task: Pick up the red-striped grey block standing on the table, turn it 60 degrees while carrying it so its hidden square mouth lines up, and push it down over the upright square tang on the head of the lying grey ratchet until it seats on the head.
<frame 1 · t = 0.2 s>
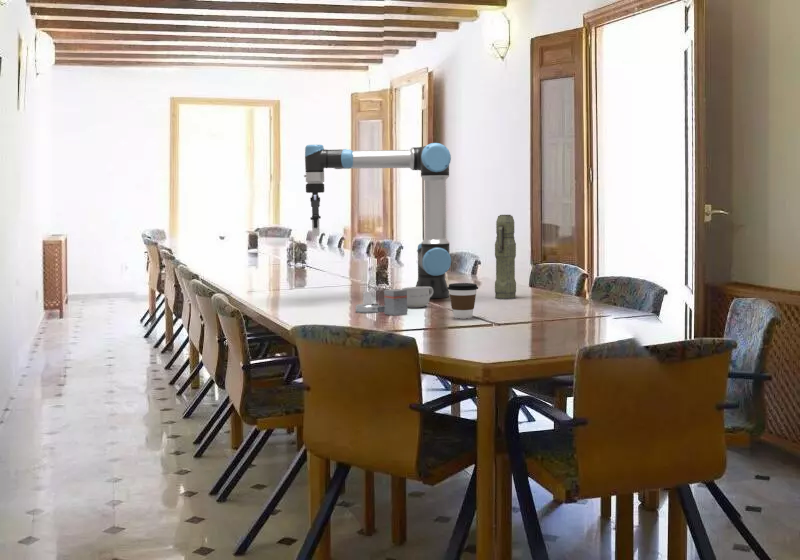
hand: (316, 235, 385), 28 cm above the table, fingers open, 13 cm apart
coffee cup: (462, 318, 339), on the table
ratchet: (367, 311, 359), on the table
red-striped grey block: (395, 314, 350), on the table
thermos: (505, 298, 397), on the table
teacup: (419, 307, 371), on the table
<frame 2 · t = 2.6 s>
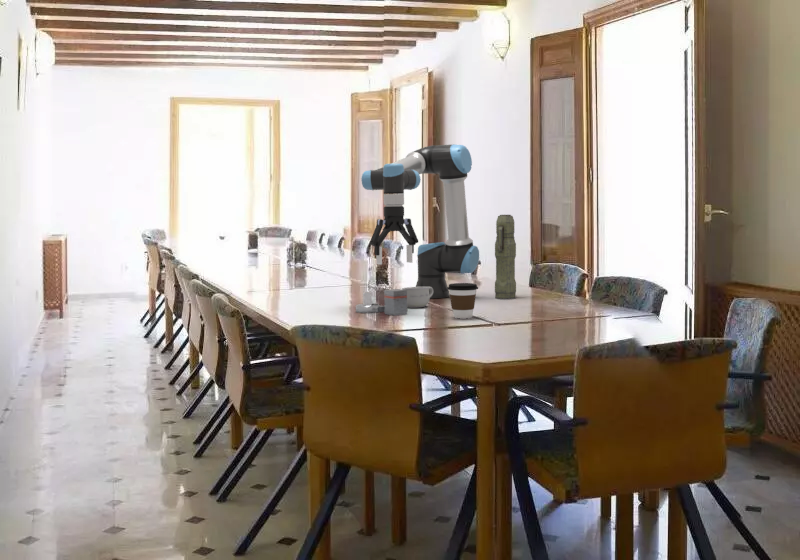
hand: (394, 263, 349), 19 cm above the table, fingers open, 13 cm apart
nothing on the table moved.
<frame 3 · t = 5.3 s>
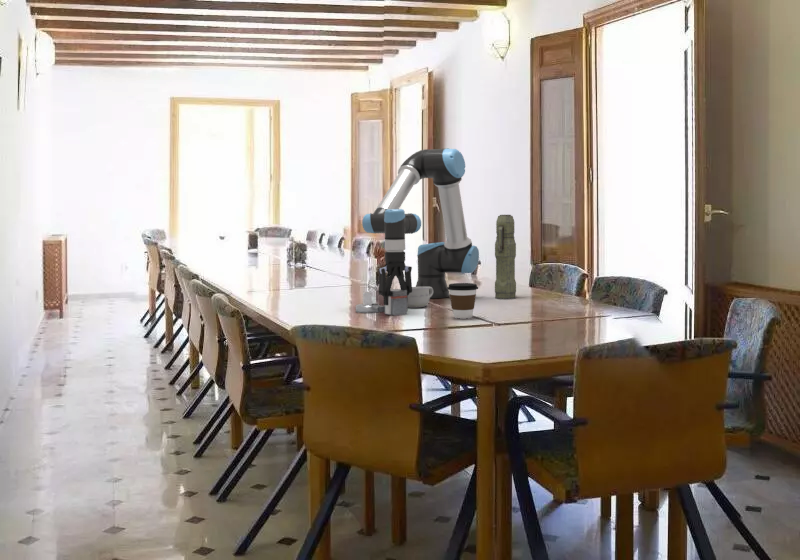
hand: (395, 312, 350), 0 cm above the table, fingers closed on red-striped grey block, 6 cm apart
red-striped grey block: (395, 314, 350), on the table, touching gripper
everything else where it was.
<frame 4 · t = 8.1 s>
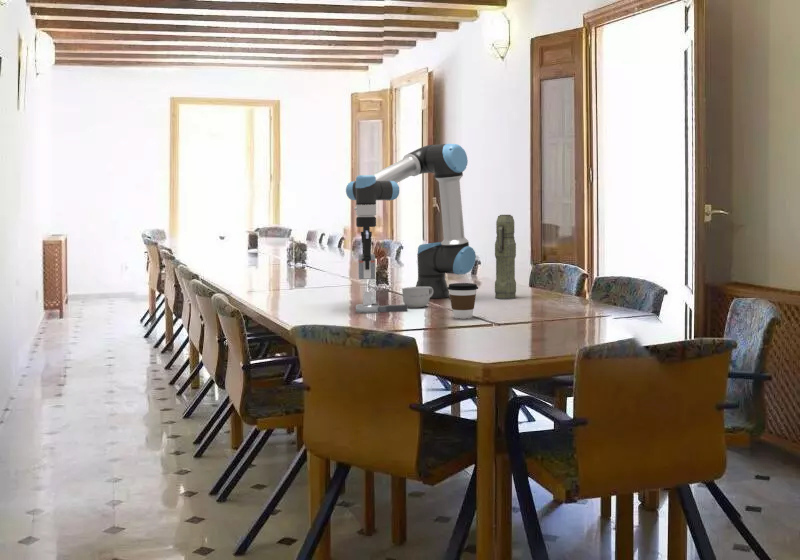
hand: (366, 277, 357), 13 cm above the table, fingers closed on red-striped grey block, 6 cm apart
red-striped grey block: (366, 278, 357), point 13 cm above the table, touching gripper
everything else where it was.
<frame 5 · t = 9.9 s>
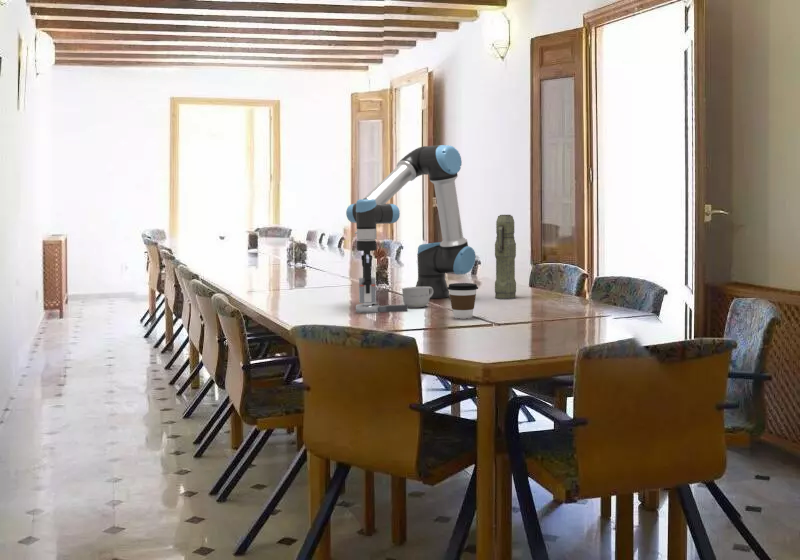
hand: (367, 300, 358), 4 cm above the table, fingers closed on red-striped grey block, 6 cm apart
red-striped grey block: (367, 301, 358), point 4 cm above the table, touching gripper
everything else where it was.
when the fingers open (3 cm above the table, at t = 11.0 s): red-striped grey block stays where it is, resting on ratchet.
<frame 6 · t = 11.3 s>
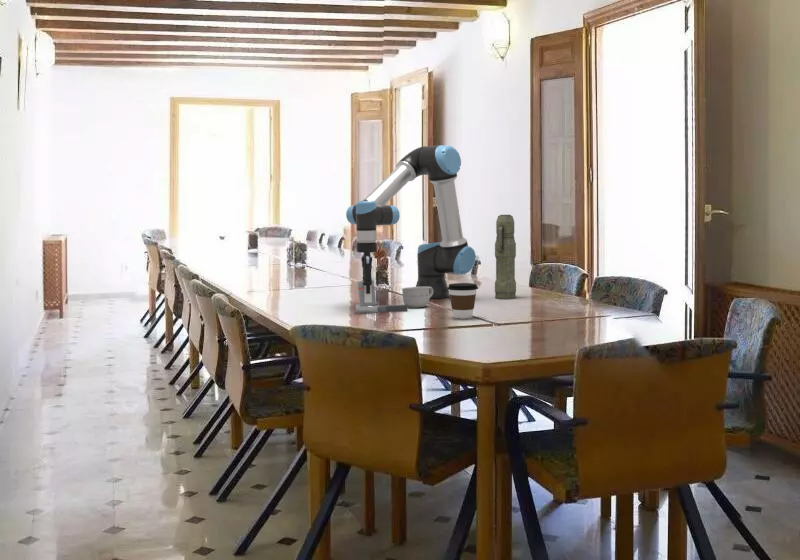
hand: (367, 300, 358), 4 cm above the table, fingers open, 9 cm apart
red-striped grey block: (367, 304, 358), point 3 cm above the table, touching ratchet
everything else where it was.
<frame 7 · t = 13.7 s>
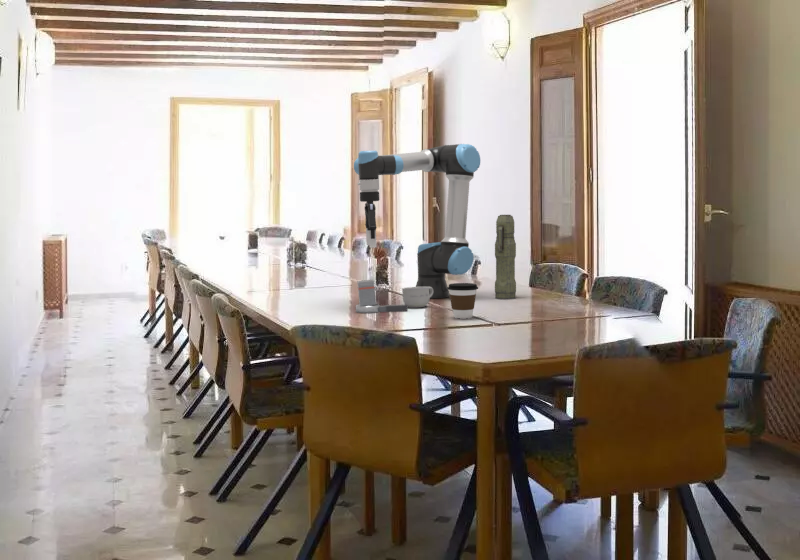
hand: (371, 246, 365), 24 cm above the table, fingers open, 13 cm apart
nothing on the table moved.
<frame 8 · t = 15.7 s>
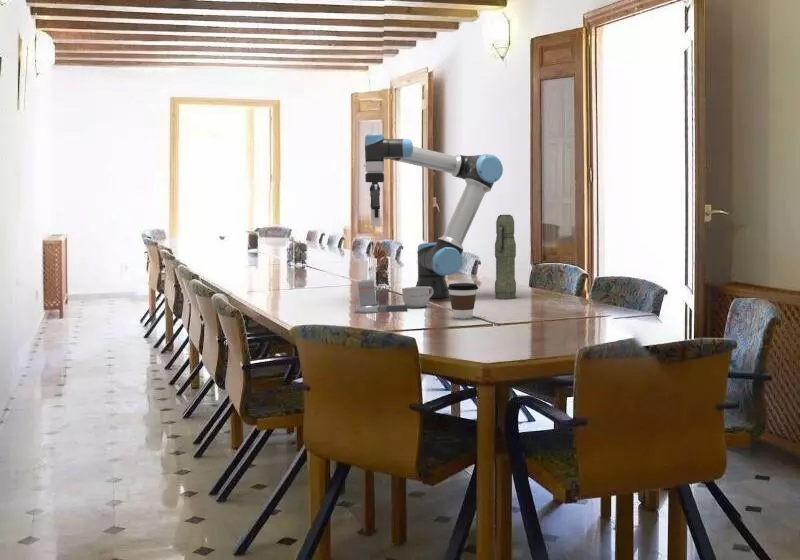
hand: (375, 225, 381), 32 cm above the table, fingers open, 13 cm apart
nothing on the table moved.
at the end: red-striped grey block 0.1 cm off-centre on the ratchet, point 2.7 cm above the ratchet's base; red-striped grey block tilted 4°; the gripper is holding nothing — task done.
